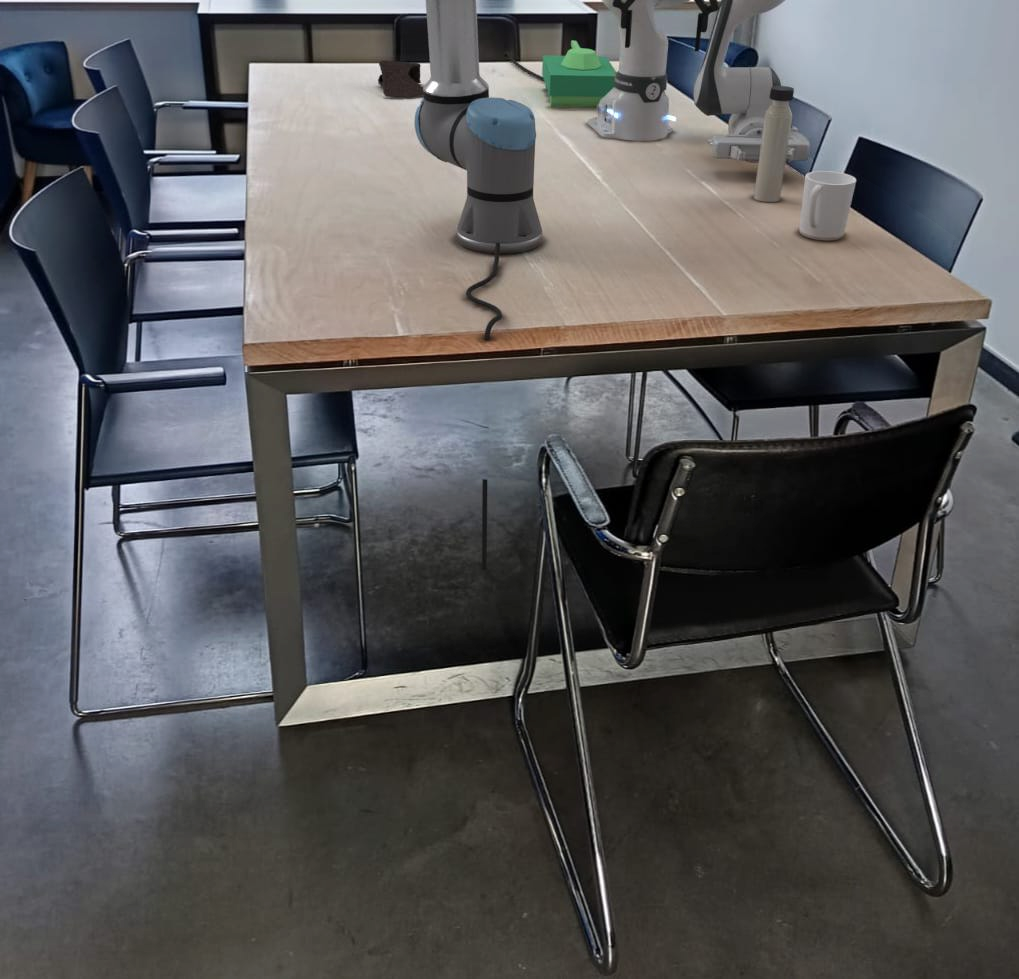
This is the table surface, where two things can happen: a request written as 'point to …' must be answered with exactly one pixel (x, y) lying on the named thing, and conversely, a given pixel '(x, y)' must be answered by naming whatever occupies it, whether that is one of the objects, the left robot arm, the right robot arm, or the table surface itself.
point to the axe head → (400, 79)
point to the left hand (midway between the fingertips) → (662, 48)
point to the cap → (781, 93)
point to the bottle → (773, 152)
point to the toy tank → (577, 77)
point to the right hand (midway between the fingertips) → (765, 157)
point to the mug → (826, 204)
